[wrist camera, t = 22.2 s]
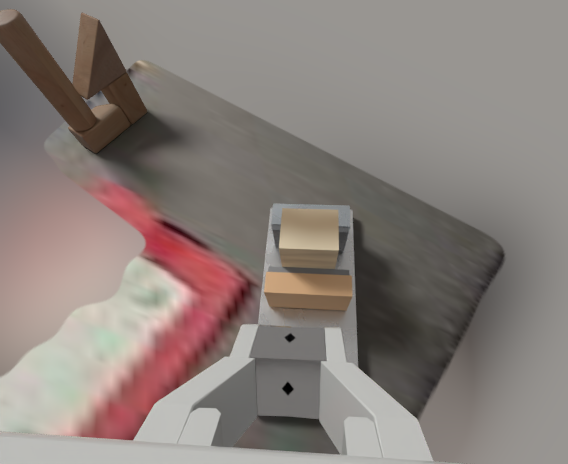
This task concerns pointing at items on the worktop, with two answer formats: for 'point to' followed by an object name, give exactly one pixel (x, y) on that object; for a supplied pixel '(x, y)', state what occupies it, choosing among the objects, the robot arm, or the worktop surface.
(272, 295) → the block
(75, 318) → the worktop surface
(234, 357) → the robot arm
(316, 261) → the beech block
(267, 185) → the worktop surface
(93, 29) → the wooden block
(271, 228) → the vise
